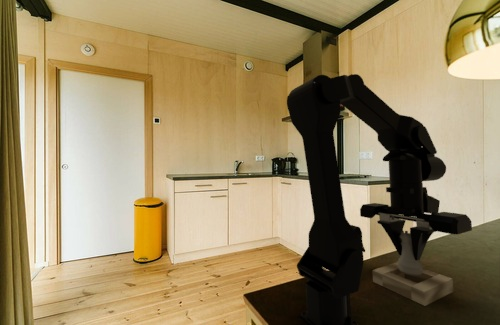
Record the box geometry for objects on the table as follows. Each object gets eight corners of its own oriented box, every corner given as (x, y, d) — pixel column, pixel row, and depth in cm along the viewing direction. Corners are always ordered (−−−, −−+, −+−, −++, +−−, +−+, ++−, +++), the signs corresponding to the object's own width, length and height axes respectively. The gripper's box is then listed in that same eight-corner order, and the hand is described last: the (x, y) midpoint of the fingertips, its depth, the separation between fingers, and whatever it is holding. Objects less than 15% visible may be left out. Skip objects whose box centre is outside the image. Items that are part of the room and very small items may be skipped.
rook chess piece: (412, 277, 44) (409, 236, 44) (392, 268, 48) (390, 230, 49) (429, 274, 45) (427, 234, 46) (408, 265, 50) (406, 228, 50)
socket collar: (425, 306, 40) (424, 291, 40) (373, 281, 49) (372, 270, 49) (453, 291, 44) (452, 278, 44) (400, 271, 53) (400, 261, 53)
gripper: (483, 182, 43) (488, 266, 42) (386, 180, 59) (389, 239, 59) (453, 185, 38) (458, 279, 37) (357, 181, 55) (360, 246, 54)
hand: (409, 257), depth 47 cm, fingers closed on rook chess piece, 3 cm apart
